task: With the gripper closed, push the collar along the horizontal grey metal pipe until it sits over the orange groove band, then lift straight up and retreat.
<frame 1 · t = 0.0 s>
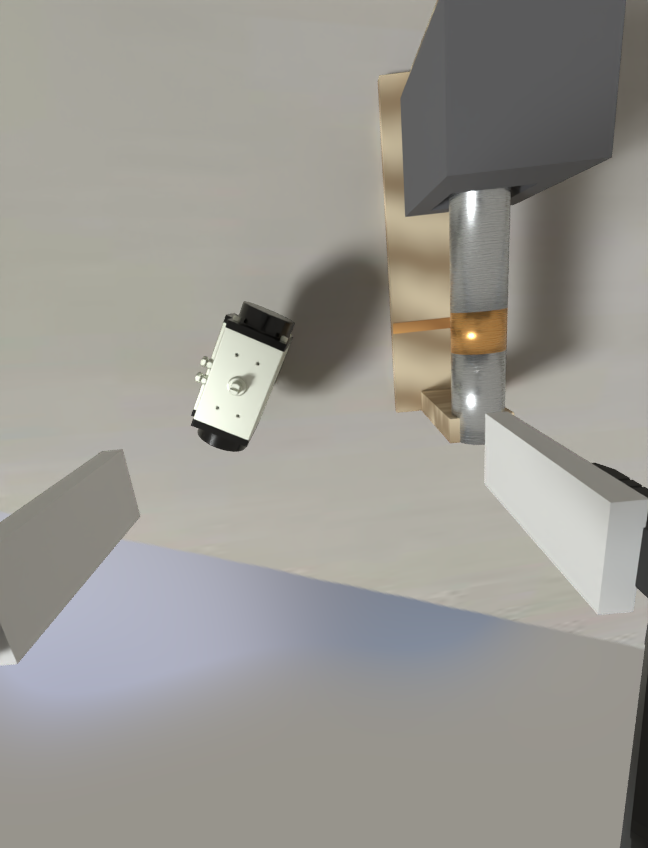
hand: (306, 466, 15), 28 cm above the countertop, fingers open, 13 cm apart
collar: (487, 122, 26), point 11 cm above the countertop, slide at 0.0 cm
pipe: (478, 245, 29), point 10 cm above the countertop
pneumatic valve: (255, 362, 42), on the countertop
pipe rig: (440, 257, 39), on the countertop
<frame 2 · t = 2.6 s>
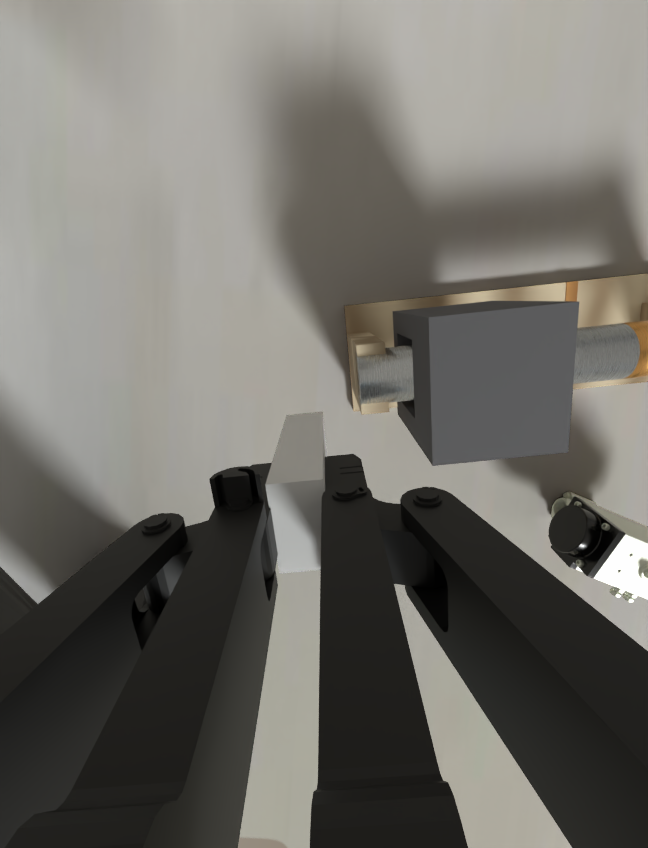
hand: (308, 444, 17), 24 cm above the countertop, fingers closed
collar: (466, 371, 29), point 11 cm above the countertop, slide at 0.0 cm
pipe: (556, 357, 30), point 10 cm above the countertop
pneumatic valve: (567, 510, 45), on the countertop
pipe rig: (499, 343, 39), on the countertop
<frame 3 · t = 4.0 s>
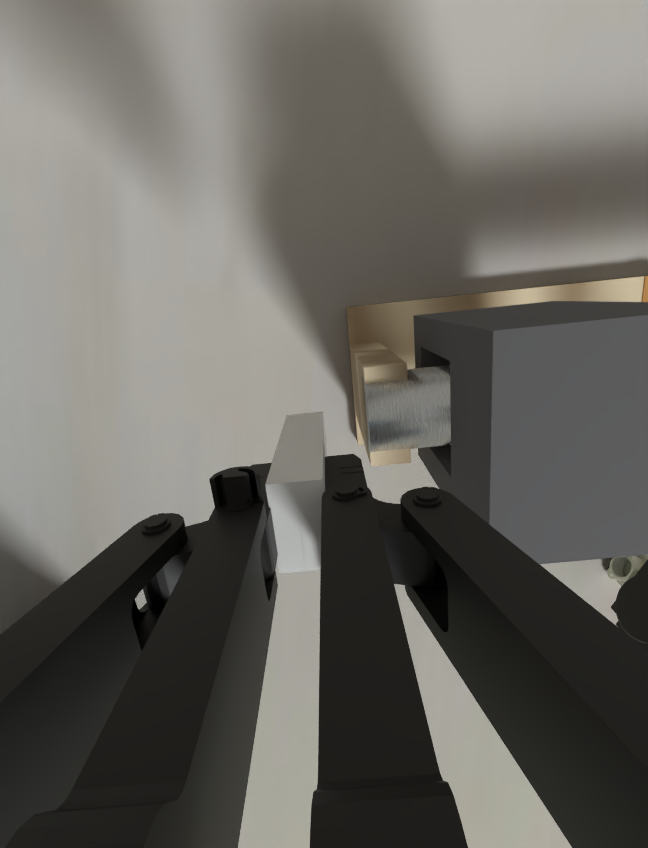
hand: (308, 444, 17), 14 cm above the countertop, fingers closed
collar: (528, 405, 19), point 11 cm above the countertop, slide at 0.0 cm
pneumatic valve: (627, 566, 36), on the countertop
pipe rig: (549, 357, 30), on the countertop
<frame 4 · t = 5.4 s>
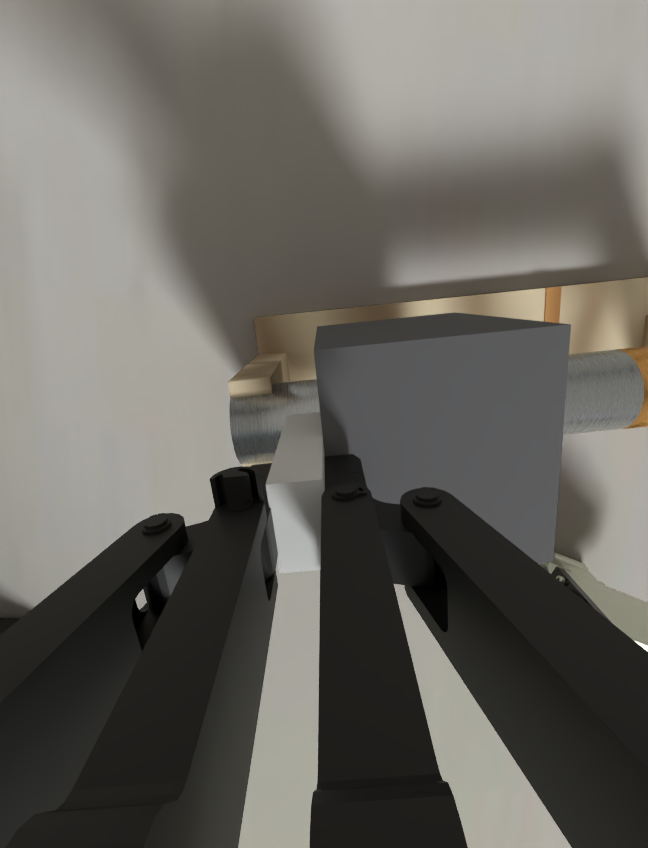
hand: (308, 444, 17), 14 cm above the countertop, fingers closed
collar: (408, 418, 20), point 11 cm above the countertop, slide at 0.9 cm, touching gripper
pipe: (523, 398, 21), point 10 cm above the countertop
pneumatic valve: (551, 572, 36), on the countertop
pipe rig: (460, 366, 30), on the countertop
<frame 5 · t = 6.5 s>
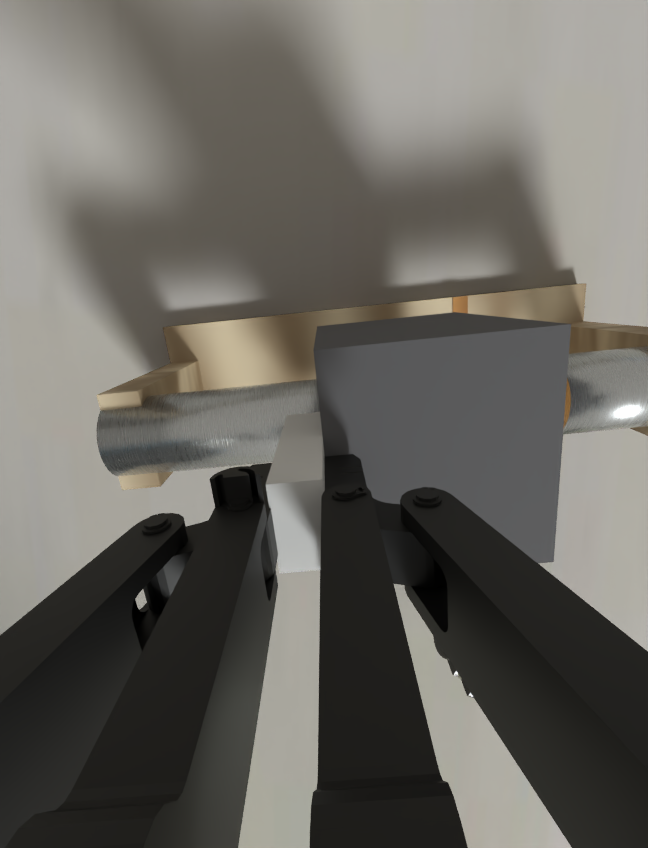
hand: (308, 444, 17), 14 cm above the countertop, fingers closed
collar: (408, 417, 20), point 11 cm above the countertop, slide at 7.2 cm, touching gripper
pipe: (399, 410, 21), point 10 cm above the countertop
pipe rig: (374, 375, 30), on the countertop
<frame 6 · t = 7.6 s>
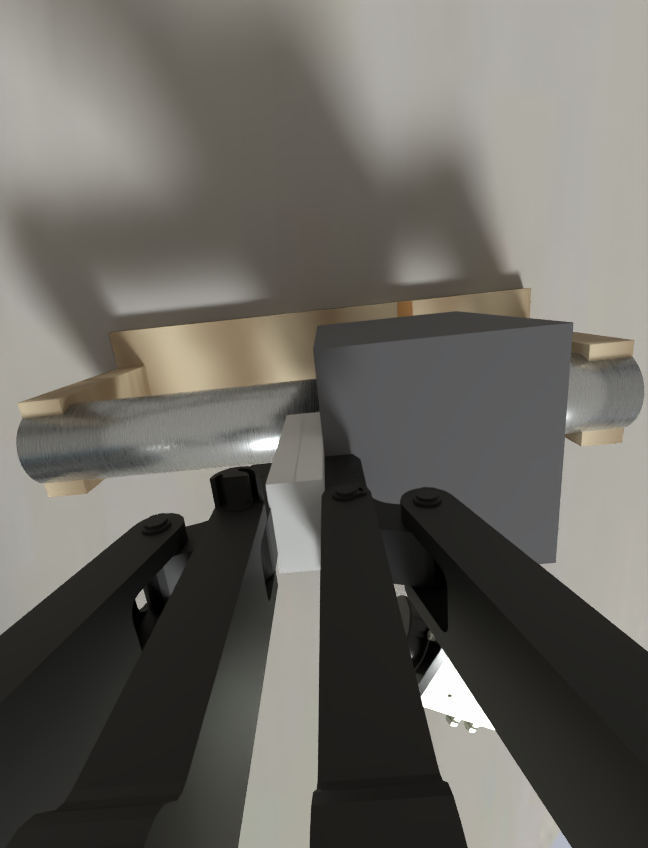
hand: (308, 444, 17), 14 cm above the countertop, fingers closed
collar: (409, 417, 19), point 11 cm above the countertop, slide at 11.0 cm, touching gripper
pipe: (324, 417, 21), point 10 cm above the countertop
pneumatic valve: (436, 582, 36), on the countertop
pipe rig: (324, 379, 30), on the countertop
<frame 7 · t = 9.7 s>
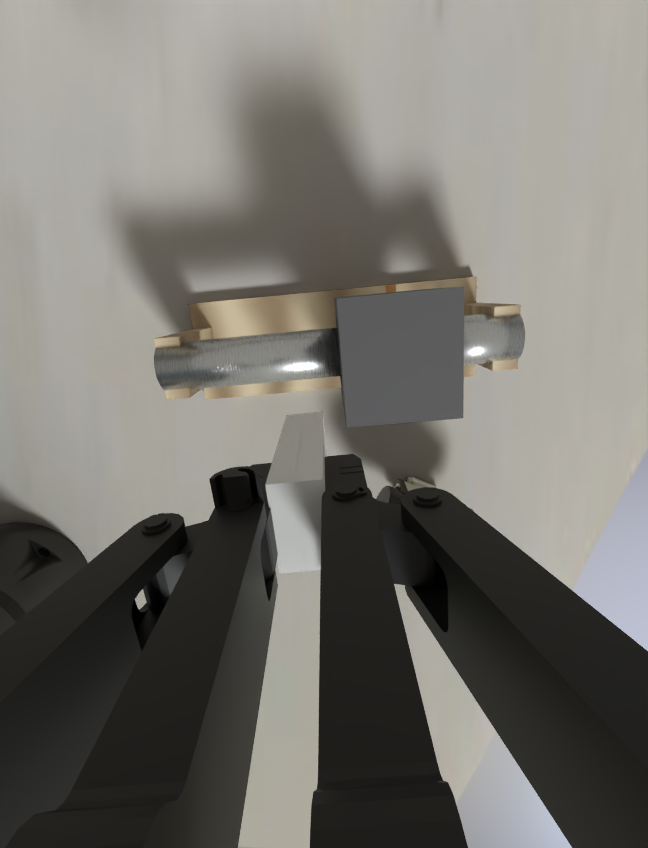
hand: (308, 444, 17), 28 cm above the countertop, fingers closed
collar: (389, 349, 33), point 11 cm above the countertop, slide at 11.2 cm
pipe: (336, 352, 34), point 10 cm above the countertop
pneumatic valve: (414, 494, 49), on the countertop
pipe rig: (334, 339, 44), on the countertop
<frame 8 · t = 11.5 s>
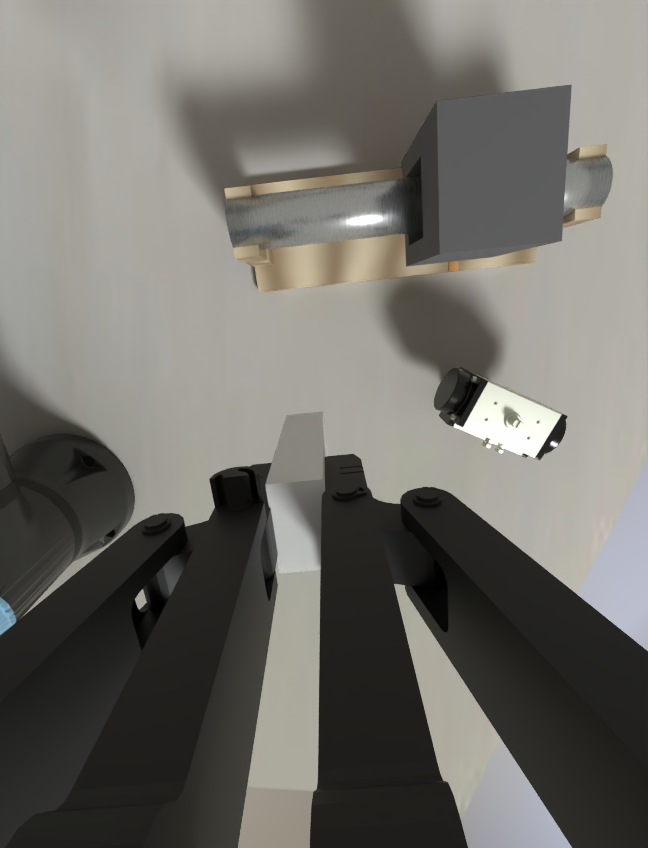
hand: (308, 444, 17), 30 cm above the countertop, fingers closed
collar: (470, 195, 31), point 11 cm above the countertop, slide at 11.2 cm
pipe: (411, 205, 33), point 10 cm above the countertop
pneumatic valve: (468, 396, 48), on the countertop
pipe rig: (391, 226, 42), on the countertop
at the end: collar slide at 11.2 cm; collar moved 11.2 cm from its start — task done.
